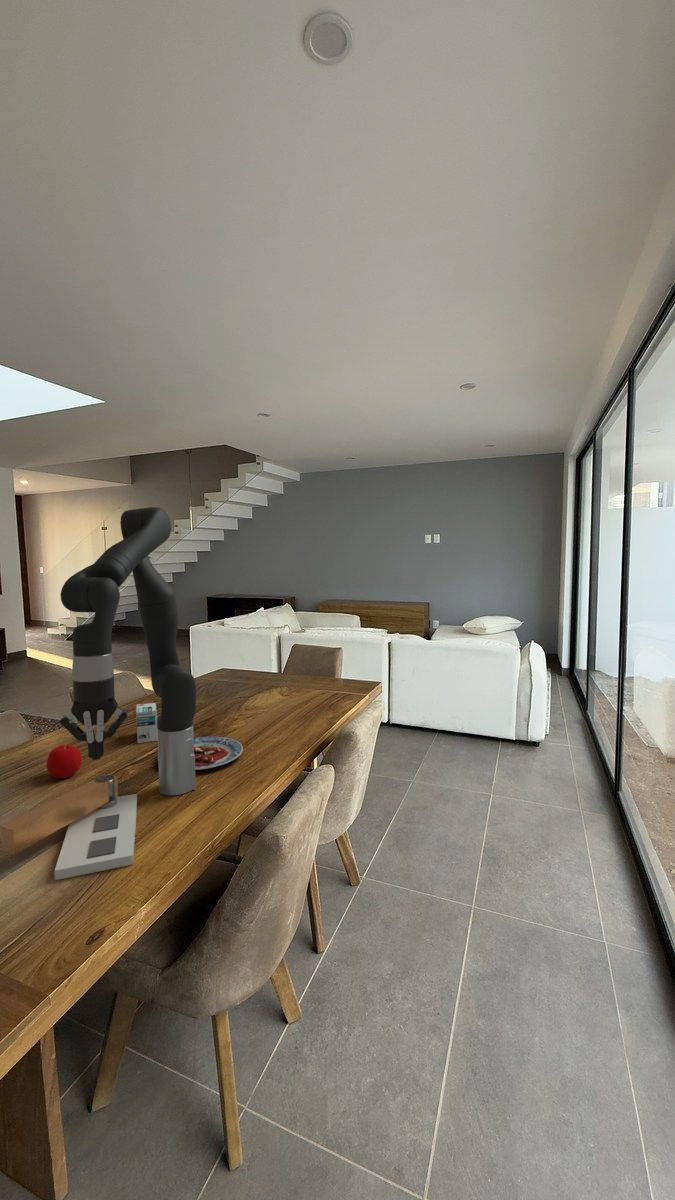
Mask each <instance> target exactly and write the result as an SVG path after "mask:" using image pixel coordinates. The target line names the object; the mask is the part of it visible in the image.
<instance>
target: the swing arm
mask: <svg viewBox="0 0 675 1200" xmlns="http://www.w3.org/2000/svg"><path fill="white" fill-rule="evenodd" d="M118 780H119V779H118V776H116V775H114V774H108V773H105V774H103V775H100V776H98V777H96V778H94V779H92V780H90V781H89V782H87V783H84V784H82V785H80V786H78V787H76V788H74V789H72V790H70V791H68V792H66V793H64V794H61V795H60V796H59V797H56V798H54V799H53V800H52V799H51V800H50V801H48V802H46V803H44V804H42V805H40V806H38V807H36V808H34V809H32V810H30V811H28V812H26V813H24V814H22V815H20V816H18V817H15V818H14V819H12V820H9V821H7V822H5V823H4V824H1V825H0V847H1V851H4V852H7V853H9V854H13V855H16V854H18V853H20V852H22V851H24V850H25V849H27V848H29V847H30V846H32V845H34V844H36V843H37V842H40V841H41V840H43V839H45V838H47V837H48V836H50V835H51V834H54V833H55V832H58V830H60V829H62V828H64V827H66V826H69V824H70V823H71V822H73V821H75V820H77V819H78V818H80V817H82V816H84V815H86V814H87V813H89V812H91V811H93V810H94V809H96V808H98V807H100V806H102V805H103V804H105V803H107V802H109V801H111V800H113V799H114V798H116V797H119V785H118V784H119V783H118V782H119V781H118Z"/></svg>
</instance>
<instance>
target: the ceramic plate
mask: <svg viewBox="0 0 675 1200" xmlns="http://www.w3.org/2000/svg"><path fill="white" fill-rule="evenodd" d="M243 751H244V748H243V745H242V743H240V741H237V740H236V739H232V738H229V737H228V738H227V737H223V736H201V737H194V755H195V771H198V770H199V771H200V770H201V771H202V770H206V769H212V768H216V767H220V766H224V765H226V764H228V763H231V762H233V761H235V760H236V759H238V758H239V757H240V756H241V755H242V754H243Z"/></svg>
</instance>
